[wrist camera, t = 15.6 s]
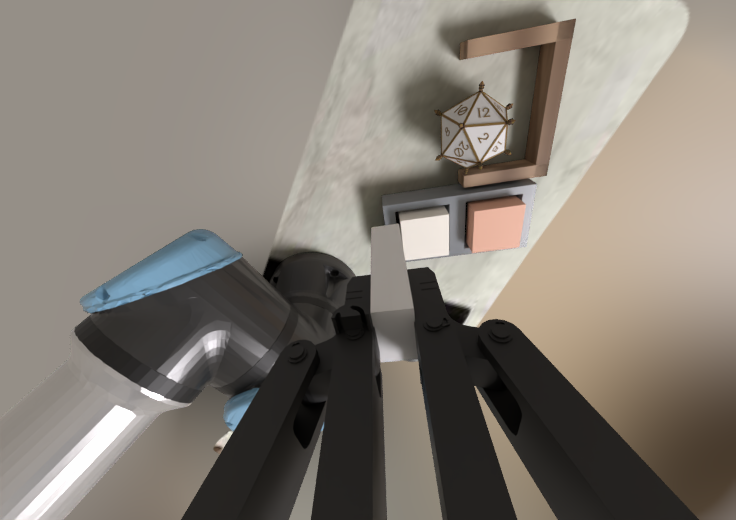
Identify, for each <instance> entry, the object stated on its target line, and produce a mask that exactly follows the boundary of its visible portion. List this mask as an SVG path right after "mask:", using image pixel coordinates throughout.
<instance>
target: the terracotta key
mask: <svg viewBox="0 0 736 520" xmlns="http://www.w3.org/2000/svg"><path fill="white" fill-rule="evenodd" d="M525 208H526V204H525V203H524V202H523V201H521V200H520V199H519V198H518V197H517V196H508V197H501V198H494V199H487V200H480V201H473V202H468V203H467V231H466V243H467V244H468V246H469V248H470V250H471V251H472V253H477V252H485V251H493V250H501V249H509V248H517V247H519V246H520V240H521V233H522V227H523V221H524V214H525Z"/></svg>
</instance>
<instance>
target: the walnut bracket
mask: <svg viewBox="0 0 736 520" xmlns="http://www.w3.org/2000/svg"><path fill="white" fill-rule="evenodd" d="M575 22H576V19H572V20H567V21H562V22H556V23H551V24H546V25H541V26H536V27H531V28H526V29H521V30H516V31H511V32H506V33H501V34H496V35H491V36H486V37H481V38H476V39H471V40H467V41H464V42H461V43H460V60H463V59H468V58H473V57H478V56H484V55H489V54H494V53H499V52H505V51H510V50H515V49H520V48H525V47H531V46H536V45H541V46H540V53H539V60H538V67H537V75H536V82H535V89H534V96H533V103H532V110H531V117H530V124H529V131H528V139H527V146H526V153H525V159H522V160H516V161H509V162H503V163H496V164H490V165H483V168H482V169H481V170H480V169H478V166H477V167H470V168H468V169H469V172H468V173H467V174H465V172H464V171H465V170H464V169H465V168H464V169H458V181H459V182H460V184H461V185H462V186H463V187H464V188H466V187H473V186H479V185H486V184H493V183H500V182H507V181H513V180H520V179H527V178H534V177H541V176H547V171H548V165H549V160H550V155H551V149H552V144H553V139H554V133H555V128H556V123H557V117H558V112H559V107H560V101H561V96H562V91H563V85H564V80H565V75H566V69H567V64H568V59H569V53H570V48H571V43H572V38H573V32H574V27H575Z"/></svg>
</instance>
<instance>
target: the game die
mask: <svg viewBox="0 0 736 520" xmlns="http://www.w3.org/2000/svg"><path fill="white" fill-rule="evenodd" d="M484 86H485V85H484V83H483V81H482V82H481V83H480V84H479V91H478V92H476V93H475V94H473V95H471V96H470V97H468V98H466V99H465V100H463V101H461V102H460V103H458V104H456V105H455V106H453V107H451V108H450V109H448V110H446V111H445V112H443V113H442V112H441V111H439V110H434V111H435V113H436V114H437V115H439V116H441V155H438V156H437V158H436V160H439V161H440V159H441V158H442V157H444V158H446V159H449V160H451V161H453V162H455V163H457V164H459V165H461V166H463V167H465V169H464V170H465V171H464V172H465V174H467V173H468V172H469V169H468V168H470V167H472V166H475V165H478V169H480V170H481V169H482V168H483V164H482V163H483V162H485V161H487V160H489V159H491V158H493V157H495V156H497V155H499V154H501V153H503V152H504V153H505V154H506V155H512V154H511V152H510V151H509V150H506V140H507V129H508V125H511V124H512V125H513V123H514V122H515V121H516V120H514V119H513V118H512V119H509V120H508V117H507V110H509V109H510V108H512V106H513V104H514V103H513V104H508V105H507V106H506V107H504V106H503V105H501V104H500V103H498V102H497V101H496V100H494V99H493V98H491V97H490V96H489V95H487V94H486V93H484V92H483V88H484ZM436 160H435V161H436Z"/></svg>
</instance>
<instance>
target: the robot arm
mask: <svg viewBox="0 0 736 520" xmlns="http://www.w3.org/2000/svg"><path fill="white" fill-rule="evenodd" d="M242 256H243V255H242V254H241V253H240V252H237V251H235V250H234V249H233V248H232V247H231V246H229V245H228V244H227V243H226V242H225V241H223V240H222V239H221V238H220V237H219V236H218V235H216V234H215V233H213V232H211V231H208V230H203V229H199V230H193V231H190V232H188V233H186V234H185V235H183V236H182V237H180V238H178V239H176V240H175V241H173V242H172V243H170V244H168V245H166V246H165V247H163V248H162V249H160V250H158V251H157V252H155V253H153V254H152V255H150V256H148V257H147V258H145V259H143V260H142V261H140V262H138V263H137V264H135V265H134V266H132V267H130V268H129V269H127V270H125V271H124V272H122V273H121V274H119V275H118V276H116V277H114V278H112V279H111V280H109V281H108V282H106V283H104V284H102V285H101V286H99V287H98V288H96V289H94V290H93V291H91V292H90V293H88V294H86V295H85V296H83V297H82V298H81V299H80V304H81V305H82V306H83V310H84V311H85V312H87V313H92V314H91V315H90V316H89V317H87V318H86V319H85V320H84V321H83V322H81V323H80V324H79V325H78V326H77V327H75V328H74V329H73V330H72V331H71V333H70V356H69V359H68V360H67V361H66V362H64V363H63V364H62V365H61V366H60V367H59V368H57V369H56V370H55V371H54V372H53V373H52V374H50V375H49V376H48V377H47V378H46V379H45V380H44V381H42V382H41V383H40V384H39V385H38V386H37V387H35V388H34V389H33V390H32V391H31V392H29V393H28V394H27V395H26V396H25V397H24V398H22V399H21V400H20V401H19V402H18V403H17V404H16V405H14V406H13V407H12V408H11V409H10V410H8V411H7V412H6V413H5V414H4V415H3V416H1V417H0V520H64V519H65V517H66V516H67V515H68V514H69V513H70V512H71V511H72V510H73V509H74V507H76V505H77V504H78V503H79V502H80V501H81V500H82V499H83V498H84V497H85V496H86V494H87V493H88V492H89V491H90V490H91V489H92V488H93V487H94V486H95V484H96V483H97V482H98V481H99V480H100V479H101V478H102V477H103V476H104V475H105V473H106V472H107V471H108V470H109V469H110V468H111V467H112V466H113V465H114V464H115V463H116V461H117V460H118V459H119V458H120V457H121V456H122V455H123V454H124V453H125V451H126V450H127V449H128V448H129V447H130V446H131V445H132V444H133V443H134V442H135V441H136V439H137V438H138V437H139V436H140V435H141V434H142V433H143V432H144V431H145V430H146V428H147V427H148V426H149V425H150V424H151V423H152V422H153V421H154V420H155V418H156V417H157V416H158V415H159V414H161V413H163V412H165V411H168V410H173V409H177V408H182V407H187V406H189V405H190V404H191V403H192V402H193V401H194V400H195V398H196V397H197V396H198V395H199V394H200V393H201V392H202V390H203V389H204V388H205V387H206V386H207V385H210V386H212V387H214V388H216V389H217V390H219V391H220V392H222V393H223V394H225V395H226V396H228V397H229V400H228V401H227V403H226V404H225V407H224V410H225V411H224V416H223V417H224V420H225V422H226V425H227V426H228V427H229V428H230V429H231V430H232V431H234V432H233V434H232V435H231V437H230V439H229V440H228V442H227V444H226V445H225V447H224V449H223V450H222V452H221V454H220V455H219V457H218V459H217V460H216V462H215V464H214V466H213V467H212V469H211V470H210V472H209V474H208V476H207V477H206V479H205V480H204V482H203V484H202V485H201V487H200V489H199V490H198V492H197V494H196V496H195V497H194V499H193V501H192V502H191V504H190V506H189V507H188V509H187V511H186V512H185V514H184V516H183V517H182V519H181V520H289V517H290V515H291V512H292V509H293V507H294V504H295V501H296V498H297V496H298V493H299V490H300V487H301V484H302V482H303V479H304V476H305V473H306V471H307V468H308V465H309V462H310V459H311V457H312V454H313V451H314V449H315V446H316V443H317V440H318V438H319V435H320V432H321V431H322V430H323V435H322V443H321V450H320V458H319V465H318V472H317V479H316V487H315V494H314V501H313V508H312V516H311V520H387V507H386V478H385V451H384V420H383V390H382V373H381V369H380V360H381V362H391V361H401V360H413V359H418V361H419V370H420V380H421V384H422V389H423V396H424V403H425V409H426V415H427V422H428V428H429V434H430V441H431V448H432V454H433V460H434V467H435V473H436V479H437V486H438V492H439V499H440V505H441V512H442V518H443V520H517V518H516V514H515V511H514V508H513V505H512V502H511V499H510V496H509V493H508V489H507V486H506V484H505V480H504V477H503V474H502V471H501V468H500V465H499V462H498V459H497V456H496V453H495V450H494V446H493V443H492V440H491V437H490V434H489V431H488V428H487V425H486V422H485V419H484V415H483V413H482V409H481V406H480V403H479V400H478V397H477V394H476V391H475V388H474V386H476V387H477V389H478V390H479V392H480V393H481V395H482V397H483V398H484V400H485V402H486V403H487V405H488V407H489V408H490V410H491V412H492V413H493V415H494V416H495V418H496V419H497V421H498V423H499V425H500V426H501V428H502V429H503V431H504V432H505V434H506V436H507V438H508V439H509V441H510V442H511V444H512V446H513V447H514V449H515V451H516V452H517V454H518V455H519V457H520V459H521V460H522V462H523V463H524V465H525V467H526V469H527V470H528V472H529V473H530V475H531V477H532V478H533V480H534V482H535V483H536V485H537V487H538V488H539V490H540V491H541V493H542V495H543V496H544V498H545V499H546V501H547V503H548V504H549V506H550V508H551V509H552V511H553V513H554V514H555V516H556V517H557V519H558V520H699V519H698V518H697V517H696V516H695V515H694V514H693V513H692V512H691V511H690V510H689V509H688V507H687V506H686V505H685V504H684V503H683V502H682V501H681V500H680V499H679V498H678V497H677V496H676V495H675V494H674V493H673V492H672V491H671V490H670V489H669V487H668V486H667V485H666V484H665V483H664V482H663V481H662V480H661V479H660V478H659V477H658V476H657V475H656V474H655V472H654V471H653V470H652V469H651V468H650V467H649V466H648V465H647V464H646V463H645V462H644V461H643V460H642V459H641V458H640V457H639V455H638V454H637V453H636V452H635V451H634V450H633V449H632V448H631V447H630V446H629V445H628V444H627V443H626V442H625V441H624V440H623V439H622V437H621V436H620V435H619V434H618V433H617V432H616V431H615V430H614V429H613V428H612V427H611V426H610V425H609V424H608V423H607V422H606V420H605V419H604V418H603V417H602V416H601V415H600V414H599V413H598V412H597V411H596V410H595V409H594V408H593V407H592V406H591V405H590V404H589V403H588V402H587V400H586V399H585V398H584V397H583V396H582V395H581V394H580V393H579V392H578V391H577V390H576V389H575V388H574V387H573V385H572V384H571V383H570V382H569V381H568V380H567V379H566V378H565V377H564V376H563V375H562V374H561V373H560V372H559V371H558V370H557V369H556V367H554V365H553V364H552V363H551V362H550V361H549V360H548V359H547V358H546V357H545V356H544V355H543V354H542V353H541V352H540V351H539V350H538V348H537V347H536V346H535V345H534V344H533V343H532V342H531V341H530V340H529V339H528V338H527V337H526V336H525V335H524V334H523V333H522V331H521V330H520V329H519V328H517V327H516V326H515V325H514V324H512V323H510V322H507V321H505V320H498V319H493V320H488V321H486V322H484V323H482V324H481V326H480V327H479V328H477V327H471V326H466V325H462V324H459V323H457V322H455V321H454V320H452V319H451V318H450V317H449V315H448V313H447V311H446V308H445V305H444V302H443V298H442V295H441V292H440V289H439V286H438V282H437V279H436V276H435V273H434V272H433V271H432V270H430V269H429V268H428V267H425V268H417V269H408V270H407V267H406V261H405V256H404V250H403V244H402V239H401V233H400V227H399V224H392V225H385V226H377V227H371V275H365V276H357V277H356V276H355V274H354V273H353V271H352V270H351V269H350V268H349V267H348V266H347V265H346V264H344V263H343V262H342V261H340V260H338V259H336V258H334V257H332V256H329V255H326V254H322V253H314V252H308V253H300V254H296V255H293V256H291V257H289V258H287V259H285V260H284V261H283V262H281V263H280V264H279V265H278V267H277V268H276V270H275V271H274V273H273V275H272V277H271V280H270V283H269V282H268V281H267V280H266V279H265V278H264V277H263V276H262V275H261V274H260V273H258V272H257V271H256V270H255V269H254V268H253V267H252V266H251V265H250V264H249V263H248V262H247V261H246V260H245V259H244V258H243V257H242Z"/></svg>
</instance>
